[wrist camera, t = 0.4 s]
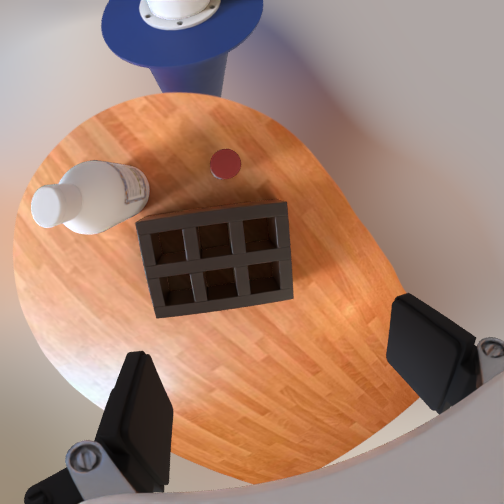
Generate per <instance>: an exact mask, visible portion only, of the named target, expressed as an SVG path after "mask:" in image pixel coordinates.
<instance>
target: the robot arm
mask: <svg viewBox="0 0 504 504" xmlns="http://www.w3.org/2000/svg"><path fill="white" fill-rule="evenodd" d="M220 3H221V0H141V2H140V6H139V9H140V14H141V17H142V18H143V20H144V21H145V22H146V23H147V24H148V25H150V26H152V27H154V28H157V29H162V30H181V29H186V28H190V27H193V26H196V25H199V24H200V23H202V22H204V21H206V20H207V19H209V18H210V17H211V16H212V15H213V14H214V13H215V12H216V11H217V9H218V8H219V5H220ZM475 340H476V337H474V336H473V335H472V334H470V333H469V332H467V331H466V330H465V329H463V328H462V327H460V326H459V325H457V324H456V323H454V322H453V321H451V320H450V319H448V318H447V317H445V316H444V315H442V314H441V313H439V312H438V311H436V310H435V309H433V308H432V307H430V306H429V305H427V304H426V303H424V302H423V301H421V300H419V299H418V298H416V297H415V296H413V295H412V294H410V293H406V294H403V295H400V296H397V297H396V298H395V301H394V302H393V303H392V310H391V320H390V330H389V338H388V346H387V353H386V358H387V361H388V362H389V364H390V365H391V366H392V367H393V368H394V369H395V370H396V371H397V372H398V373H399V374H400V376H401V377H402V378H403V379H404V380H405V381H406V382H407V383H408V384H409V385H410V386H411V388H412V389H413V390H414V391H415V392H416V393H417V394H418V395H419V396H420V398H421V399H422V400H423V401H424V402H425V403H426V404H427V405H428V406H429V407H430V409H431V410H435V411H437V413H438V414H439V415H438V416H436V417H435V418H433V419H431V420H430V421H428V422H426V423H425V424H423V425H421V426H419V427H417V428H416V429H414V430H412V431H410V432H408V433H406V434H404V435H402V436H400V437H398V438H396V439H394V440H393V441H390V442H388V443H386V444H384V445H382V446H379V447H377V448H375V449H373V450H370V451H368V452H365V453H363V454H360V455H358V456H355V457H353V458H350V459H348V460H345V461H342V462H339V463H336V464H333V465H330V466H327V467H324V468H321V469H318V470H314V471H311V472H307V473H304V474H300V475H296V476H293V477H289V478H284V479H280V480H275V481H271V482H266V483H261V484H255V485H249V486H242V487H235V488H228V489H220V490H209V491H197V492H174V493H153V492H164V485H168V483H169V471H170V452H171V437H172V424H173V407H172V404H171V402H170V400H169V398H168V396H167V394H166V391H165V389H164V387H163V385H162V382H161V380H160V378H159V375H158V373H157V371H156V368H155V366H154V363H153V361H152V358H151V356H150V355H149V354H145V352H144V351H137V352H129V353H128V354H127V356H126V358H125V361H124V363H123V366H122V369H121V371H120V374H119V377H118V379H117V382H116V385H115V387H114V388H113V389H112V391H111V393H110V396H109V399H108V402H107V404H106V407H105V410H104V413H103V416H102V419H101V422H100V425H99V428H98V431H97V434H96V437H95V441H90V440H85V441H81V442H78V443H76V444H75V445H73V446H72V447H71V448H70V449H69V450H68V452H67V454H66V458H65V462H66V466H67V467H66V468H65V469H63V470H61V471H59V472H57V473H56V474H54V475H52V476H50V477H48V478H47V479H45V480H43V481H41V482H39V483H37V484H35V485H33V486H32V487H30V488H29V489H28V490H27V492H26V494H25V498H24V503H25V504H504V342H503V341H502V340H500V339H498V338H493V337H488V338H484V339H482V340H481V341H479V343H478V345H477V346H475V345H474V343H475ZM451 406H452V407H451ZM450 407H451V408H450Z"/></svg>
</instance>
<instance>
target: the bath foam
mask: <svg viewBox="0 0 504 504" xmlns="http://www.w3.org/2000/svg"><path fill="white" fill-rule="evenodd" d="M149 193H150V188H149V183H148V180H147V178H146V176H145V175H144V173H143V172H142V171H140V170H139V169H138V168H136V167H133V166H129V165H124V164H118V163H111V162H105V161H98V160H92V161H86V162H83V163H80V164H78V165H76V166H74V167H72V168H71V169H70V170H69V171H67V172H66V173H65V175H64V176H63V177H62V179H61V180H60V182H59V184H51V185H44V186H42V187H40V188H39V189H38V190H37V191H36V192H35V194H34V196H33V198H32V203H31V211H32V215H33V218H34V220H35V221H36V223H37V224H38V225H40V226H41V227H44V228H50V227H54V226H56V225H59V224H62V223H63V224H64V225H65V226H66V227H68V228H69V229H71V230H72V231H74V232H77V233H80V234H97V233H101V232H104V231H106V230H108V229H110V228H111V227H113V226H115V225H117V224H119V223H121V222H123V221H125V220H127V219H129V218H131V217H133V216H135V215H136V214H138V213H139V212H140V211H141V210H142V209H143V208H144V207H145V205H146V203H147V201H148V198H149Z"/></svg>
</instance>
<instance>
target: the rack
mask: <svg viewBox="0 0 504 504" xmlns="http://www.w3.org/2000/svg"><path fill="white" fill-rule="evenodd" d="M259 218H267V221H268V232H269V239H270V240H262V241H255V242H247V243H245V238H244V229H243V220H251V219H259ZM220 223H227V227H228V235H229V243H230V245H226V246H218V247H211V248H204V249H202V248H201V241H200V234H199V226H206V225H213V224H220ZM136 229H137V235H138V240H139V245H140V250H141V255H142V260H143V265H144V270H145V274H146V279H147V283H148V287H149V291H150V295H151V299H152V303H153V307H154V311H155V315H156V318H166V317H175V316H183V315H191V314H199V313H206V312H214V311H221V310H228V309H235V308H241V307H248V306H254V305H260V304H266V303H272V302H278V301H284V300H290V299H293V278H292V262H291V248H290V234H289V220H288V208H287V202H286V201H282V200H279V199H271V200H261V201H253V202H244V203H236V204H228V205H220V206H213V207H205V208H198V209H191V210H185V211H178V212H171V213H165V214H159V215H153V216H147V217H144V218H142V219H141V220H139V221H137V222H136ZM178 229H182V232H183V238H184V245H185V251H183V252H176V253H169V254H163V253H162V248H161V242H160V237H159V232H165V231H171V230H178ZM267 262H271V266H272V276H273V277H267V278H260V279H254V280H249V273H248V266H247V265H253V264H260V263H267ZM232 267H233V274H234V281H235V282H234V283H227V284H220V285H213V286H208V285H207V279H206V273H205V271H211V270H218V269H225V268H232ZM189 273H190V279H191V284H192V288H191V289H183V290H176V291H170V288H169V284H168V279H167V276H175V275H182V274H189Z"/></svg>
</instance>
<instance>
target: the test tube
mask: <svg viewBox="0 0 504 504" xmlns="http://www.w3.org/2000/svg"><path fill="white" fill-rule="evenodd" d="M240 167H241V160H240V157H239V156H238V154H237V153H236V152H234V151H233V150H230V149H221V150H219V151H217V152H216V153H215V154H214V155H213V156H212V158H211V161H210V168H211V173H212V175H213V176H214V177H216V178H218V179H229V178H232V177H234V176H235V175H236V174H237V173H238V172H239V170H240Z"/></svg>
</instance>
